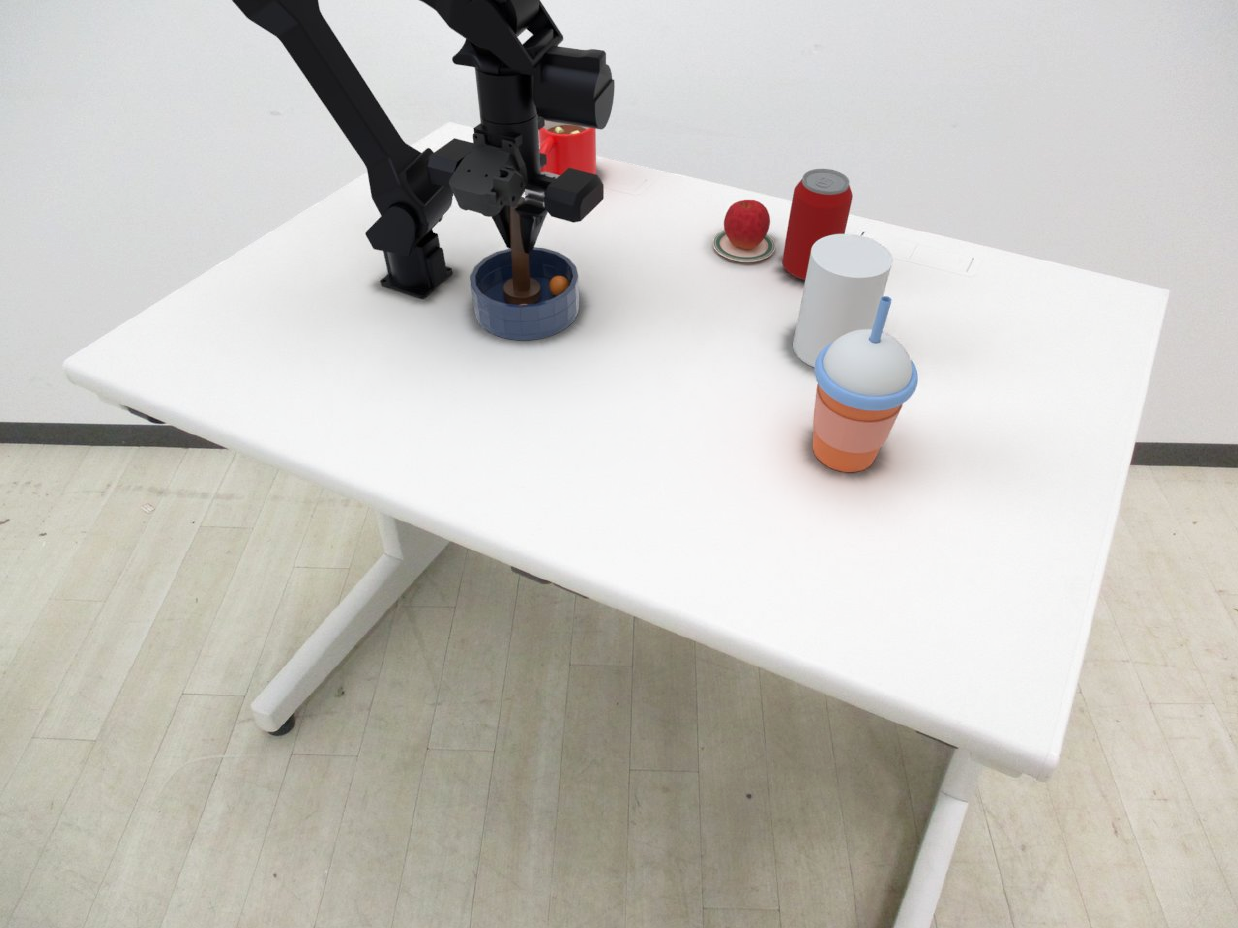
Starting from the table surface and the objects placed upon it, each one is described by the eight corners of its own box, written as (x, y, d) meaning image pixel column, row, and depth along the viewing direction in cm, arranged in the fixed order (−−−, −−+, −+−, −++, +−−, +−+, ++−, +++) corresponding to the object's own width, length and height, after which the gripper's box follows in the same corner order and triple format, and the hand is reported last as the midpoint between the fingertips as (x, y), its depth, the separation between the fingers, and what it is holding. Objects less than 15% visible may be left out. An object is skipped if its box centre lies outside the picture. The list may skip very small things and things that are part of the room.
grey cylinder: (874, 337, 96) (900, 245, 87) (856, 380, 91) (882, 285, 82) (804, 319, 98) (823, 227, 90) (783, 359, 93) (801, 265, 85)
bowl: (454, 322, 98) (448, 289, 94) (510, 269, 105) (506, 237, 102) (545, 352, 94) (543, 319, 91) (597, 295, 101) (596, 263, 98)
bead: (543, 281, 98) (559, 269, 98) (547, 287, 101) (563, 275, 100) (555, 297, 98) (571, 284, 98) (559, 303, 100) (575, 290, 100)
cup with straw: (891, 491, 80) (946, 339, 67) (794, 476, 81) (829, 324, 68) (889, 425, 86) (939, 275, 73) (799, 413, 87) (832, 263, 74)
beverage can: (844, 265, 106) (864, 175, 98) (822, 291, 102) (842, 200, 94) (794, 249, 109) (810, 160, 100) (771, 274, 105) (786, 184, 96)
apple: (704, 256, 107) (708, 210, 103) (723, 226, 112) (728, 180, 108) (765, 270, 105) (772, 223, 100) (781, 238, 110) (789, 192, 106)
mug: (517, 196, 118) (512, 141, 112) (557, 159, 125) (554, 106, 119) (567, 209, 115) (565, 153, 110) (605, 170, 123) (605, 117, 117)
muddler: (495, 297, 99) (488, 202, 91) (519, 281, 102) (514, 187, 93) (525, 310, 97) (520, 214, 89) (548, 293, 100) (545, 198, 92)
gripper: (382, 124, 82) (409, 263, 93) (549, 167, 76) (556, 310, 87) (448, 82, 89) (465, 216, 100) (606, 119, 83) (606, 257, 94)
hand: (519, 249), depth 95 cm, fingers closed on muddler, 2 cm apart
